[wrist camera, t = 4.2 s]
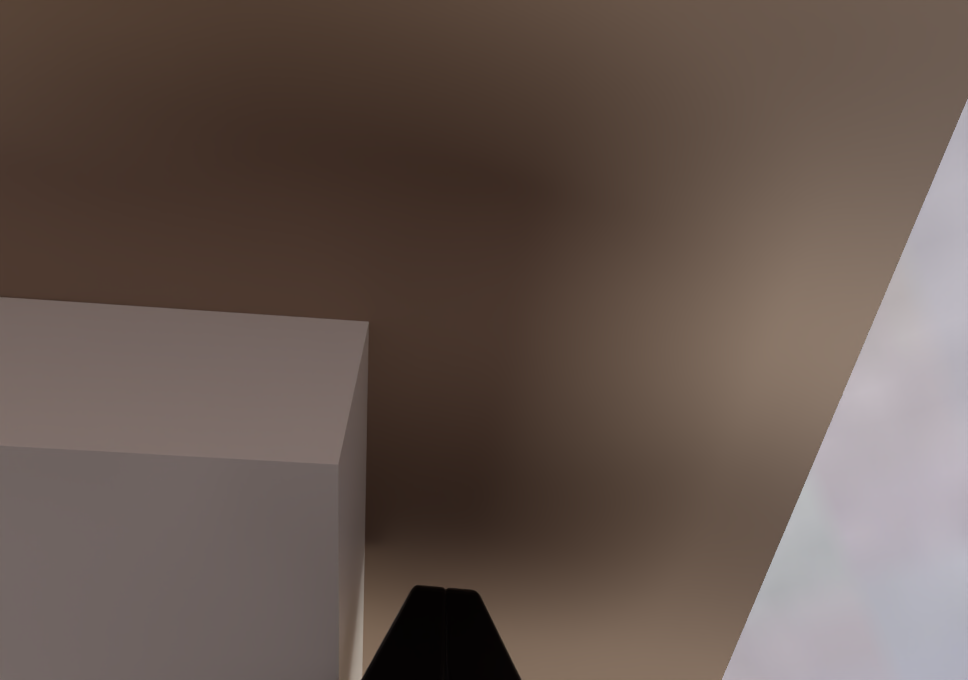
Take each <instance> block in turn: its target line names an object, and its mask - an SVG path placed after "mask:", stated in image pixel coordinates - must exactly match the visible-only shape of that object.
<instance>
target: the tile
mask: <svg viewBox="0 0 968 680" xmlns="http://www.w3.org/2000/svg"><path fill="white" fill-rule="evenodd" d="M368 345H369V322H368V321H353V320H338V319H323V318H308V317H293V316H278V315H263V314H248V313H233V312H218V311H203V310H188V309H173V308H158V307H143V306H128V305H113V304H98V303H84V302H69V301H54V300H39V299H24V298H9V297H0V680H361V679H362V664H363V611H364V557H365V504H366V451H367V398H368Z"/></svg>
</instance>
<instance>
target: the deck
mask: <svg viewBox="0 0 968 680" xmlns="http://www.w3.org/2000/svg"><path fill="white" fill-rule="evenodd" d="M967 99H968V0H0V297H9V298H24V299H39V300H54V301H69V302H84V303H98V304H113V305H128V306H143V307H158V308H173V309H188V310H203V311H218V312H233V313H248V314H263V315H278V316H293V317H308V318H323V319H338V320H353V321H368V322H369V345H368V398H367V451H366V504H365V557H364V611H363V664H362V677H363V675H364V673H365V672H366V670H367V668H368V666H369V664H370V663H371V661H372V659H373V657H374V655H375V654H376V652H377V650H378V648H379V646H380V644H381V643H382V641H383V639H384V637H385V635H386V634H387V632H388V630H389V628H390V626H391V625H392V623H393V621H394V619H395V617H396V616H397V614H398V612H399V610H400V608H401V607H402V605H403V603H404V601H405V599H406V598H407V596H408V594H409V592H410V590H411V589H412V588H413V587H414V586H416V585H426V586H437V587H443V588H445V589H447V588H460V589H471V590H475V591H477V592H478V593H479V595H480V596H481V598H482V600H483V602H484V604H485V606H486V608H487V610H488V612H489V614H490V616H491V618H492V620H493V622H494V624H495V626H496V629H497V631H498V633H499V635H500V637H501V639H502V641H503V643H504V645H505V647H506V649H507V651H508V653H509V655H510V657H511V659H512V661H513V663H514V665H515V667H516V669H517V671H518V673H519V675H520V678H521V680H722V677H723V675H724V673H725V670H726V668H727V666H728V663H729V661H730V658H731V656H732V654H733V651H734V649H735V647H736V644H737V642H738V640H739V637H740V635H741V632H742V630H743V628H744V625H745V623H746V621H747V618H748V616H749V614H750V611H751V609H752V607H753V604H754V602H755V599H756V597H757V595H758V592H759V590H760V588H761V585H762V583H763V581H764V578H765V576H766V573H767V571H768V569H769V566H770V564H771V562H772V559H773V557H774V555H775V552H776V550H777V547H778V545H779V543H780V540H781V538H782V536H783V533H784V531H785V529H786V526H787V524H788V521H789V519H790V517H791V514H792V512H793V510H794V507H795V505H796V503H797V500H798V498H799V495H800V493H801V491H802V488H803V486H804V484H805V481H806V479H807V477H808V474H809V472H810V469H811V467H812V465H813V462H814V460H815V458H816V455H817V453H818V451H819V448H820V446H821V443H822V441H823V439H824V436H825V434H826V432H827V429H828V427H829V425H830V422H831V420H832V417H833V415H834V413H835V410H836V408H837V406H838V403H839V401H840V399H841V396H842V394H843V391H844V389H845V387H846V384H847V382H848V380H849V377H850V375H851V373H852V370H853V368H854V365H855V363H856V361H857V358H858V356H859V354H860V351H861V349H862V347H863V344H864V342H865V340H866V337H867V335H868V332H869V330H870V328H871V325H872V323H873V321H874V318H875V316H876V314H877V311H878V309H879V306H880V304H881V302H882V299H883V297H884V295H885V292H886V290H887V288H888V285H889V283H890V280H891V278H892V276H893V273H894V271H895V269H896V266H897V264H898V262H899V259H900V257H901V254H902V252H903V250H904V247H905V245H906V243H907V240H908V238H909V236H910V233H911V231H912V228H913V226H914V224H915V221H916V219H917V217H918V214H919V212H920V210H921V207H922V205H923V202H924V200H925V198H926V195H927V193H928V191H929V188H930V186H931V184H932V181H933V179H934V176H935V174H936V172H937V169H938V167H939V165H940V162H941V160H942V158H943V155H944V153H945V150H946V148H947V146H948V143H949V141H950V139H951V136H952V134H953V132H954V129H955V127H956V124H957V122H958V120H959V117H960V115H961V113H962V110H963V108H964V106H965V103H966V101H967Z"/></svg>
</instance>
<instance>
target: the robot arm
mask: <svg viewBox="0 0 968 680" xmlns="http://www.w3.org/2000/svg"><path fill="white" fill-rule="evenodd" d="M361 680H521V678H520V675H519V673H518V671H517V669H516V667H515V665H514V663H513V661H512V659H511V657H510V655H509V653H508V651H507V649H506V647H505V645H504V643H503V641H502V639H501V637H500V635H499V633H498V631H497V629H496V626H495V624H494V622H493V620H492V618H491V616H490V614H489V612H488V610H487V608H486V606H485V604H484V602H483V600H482V598H481V596H480V595H479V593H478V592H477V591H475V590H471V589H460V588H447V589H445V588H443V587H437V586H426V585H416V586H414V587H413V588H412V589H411V590H410V592H409V594H408V596H407V598H406V599H405V601H404V603H403V605H402V607H401V608H400V610H399V612H398V614H397V616H396V617H395V619H394V621H393V623H392V625H391V626H390V628H389V630H388V632H387V634H386V635H385V637H384V639H383V641H382V643H381V644H380V646H379V648H378V650H377V652H376V654H375V655H374V657H373V659H372V661H371V663H370V664H369V666H368V668H367V670H366V672H365V673H364V675H363V677H362V679H361Z"/></svg>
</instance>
